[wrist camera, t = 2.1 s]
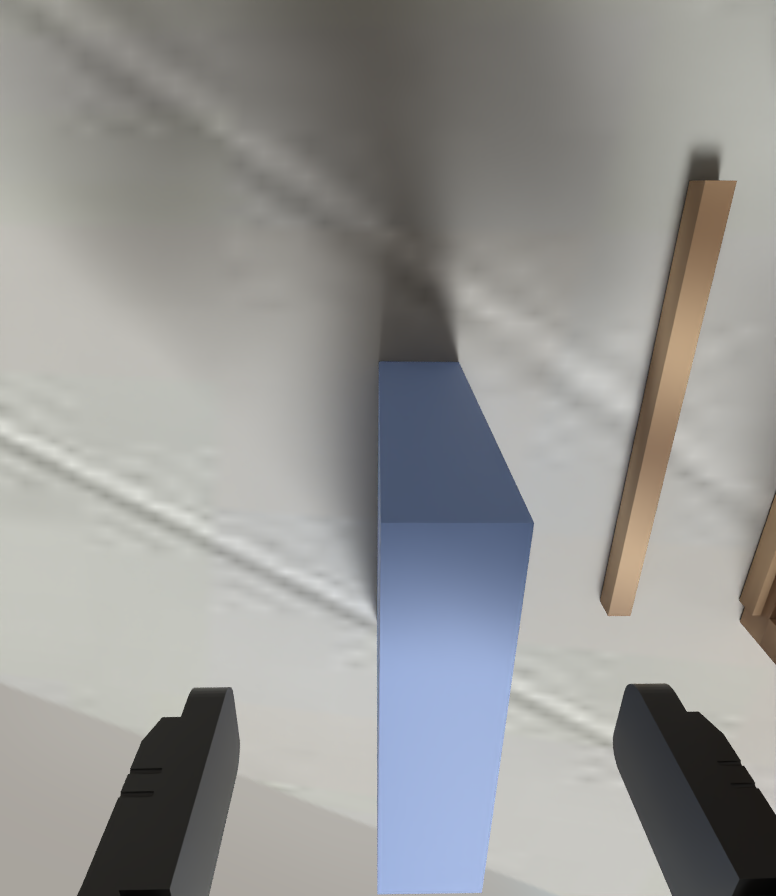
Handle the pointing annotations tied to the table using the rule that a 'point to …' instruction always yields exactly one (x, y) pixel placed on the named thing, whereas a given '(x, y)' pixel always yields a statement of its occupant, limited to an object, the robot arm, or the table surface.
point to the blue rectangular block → (442, 626)
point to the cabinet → (696, 253)
